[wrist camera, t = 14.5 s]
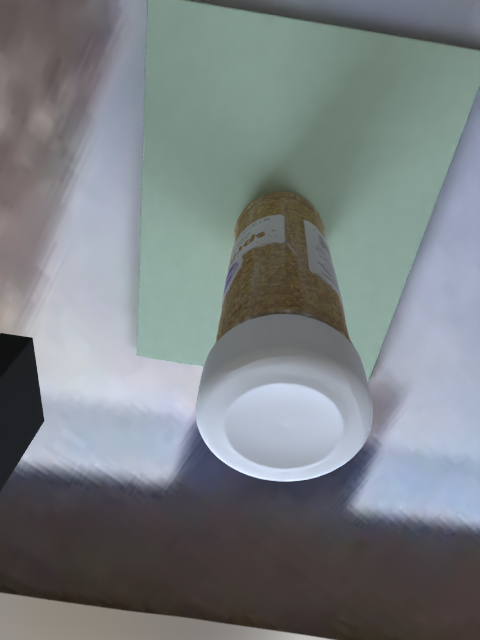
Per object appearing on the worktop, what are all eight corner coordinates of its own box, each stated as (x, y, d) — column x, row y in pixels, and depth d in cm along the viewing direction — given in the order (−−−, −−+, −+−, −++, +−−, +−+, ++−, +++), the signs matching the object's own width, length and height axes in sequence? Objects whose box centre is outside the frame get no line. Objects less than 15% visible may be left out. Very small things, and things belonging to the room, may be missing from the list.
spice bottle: (235, 187, 22) (190, 347, 10) (331, 192, 22) (394, 361, 10) (233, 274, 24) (194, 483, 13) (319, 279, 24) (359, 495, 13)
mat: (150, -6, 19) (147, -8, 18) (487, 51, 19) (493, 51, 18) (138, 350, 28) (136, 356, 27) (363, 386, 28) (365, 392, 28)
